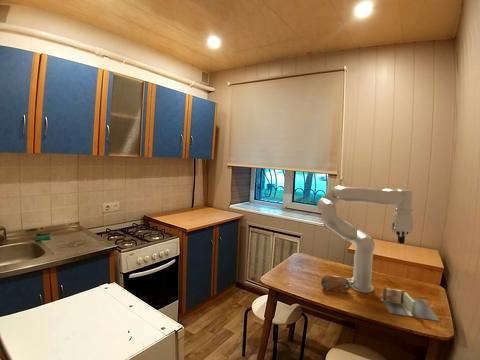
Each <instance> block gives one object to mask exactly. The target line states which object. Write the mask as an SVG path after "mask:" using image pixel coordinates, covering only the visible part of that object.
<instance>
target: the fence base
mask: <svg viewBox="0 0 480 360" xmlns="http://www.w3.org/2000/svg"><path fill="white" fill-rule="evenodd" d="M382 288H383V289H382V291H383V292H382V293H380V296H381V298H380V300H381V302H383V303H384V305H385V307H386V309H387V312H388V314H390V315H395V316H403V317H409V318H416V319H421V320H429V321H435V322H440V319H439V317H438V316H437V314H436V313H435V312H434V311H433V310H432V308H431V306H430V305H429V304H428V303H427V302H426V300H425V299H422V298H414V297H411V298H412V299H413V300H414V301H415V302H416V305H415V315H412V314H411V313H410V311H409V310H408V309H407V308H406V307H405V305H404V304H403V293H404V292H406V293H407V290H405V289H393V288H387V287H382Z"/></svg>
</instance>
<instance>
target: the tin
mask: <svg viewBox="0 0 480 360" xmlns="http://www.w3.org/2000/svg"><path fill="white" fill-rule="evenodd" d="M346 278H347V277H344V276H338V275H333V274H326V275H325V274H324V276H323V277H322V279H321V283H320V284H321V287H322V288H324V289H325V290H326V289H328V290H327V291H329V290H333V291H332V292H335V291H337V292H336V293H343V294H344V293H348V291H349V290H350V288H351V287H350V283H349V281H348V280H347V279H346Z"/></svg>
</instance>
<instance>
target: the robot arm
mask: <svg viewBox="0 0 480 360" xmlns="http://www.w3.org/2000/svg"><path fill="white" fill-rule="evenodd" d="M339 202H341V203H362V204H363V203H365V204H377V205H378V204H380V205H395V212H394V213H393V214H392V218H391V223H390V224H391V225H390V230H391V232H392V233H393V234H396V236H397V243H399V244H400V245H403V244H404V245H405V240H406V239H405V238H406V237H407V235H408V234H412V231H413V227H414V226H413V225H414V219H413V214H412V212H414V209H412V204H413V190H411V189H406V188H405V189H404V188H399V189H397V188H396V189H395V188H390V187H389V188H388V187H387V188H384V189H375V188H371V187H364V186H363V187H361V186H360V187H357V186H356V187H355V186H353V187H352V186H342V185H337V186H334V187H332V188H331V189H330V190H329V191H328V192H327V193H325V194H324V195H323V196H322V197H321V198H319V200H318V201H317V203H316V207H317V210H318V211H320V212H321V219H322V223H323V224H324V225H325V226H326V227H327V228H328V229H330V230H331V231H332V232H334V233H335V234H337V235H338V236H340V237H341V238H342V239H343V240H345V241H348V242H349V243H351V244H353V245H354V246H355V251H354V256H353V272H352V274H353V276H352V277H350V278H347V277H345V278H346V279H347V280H348V281H349V284H350V288H351V289H353V290H354V291H357V292H360V293H364V294H365V293H368V294H369V293H373V291H374V290H375V289H374V286H373V285H372V275H373V273H372V272H373V271H372V270H373V258H374V257H373V256H374V252H375V249H376V248H375V247H376V244H375V240H374V239H373V238H372V236H370V235H369V234H368V233H366V232H364V231H363V230H362V229H360V228H359V227H357V226H355V225H354V224H352V223H350V222H349V221H347V220H345V219H342V218H341V217H340V216H338V213H337V211H338V210H337V206H336V204H337V203H339Z"/></svg>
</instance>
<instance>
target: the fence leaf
mask: <svg viewBox="0 0 480 360" xmlns="http://www.w3.org/2000/svg"><path fill="white" fill-rule="evenodd" d="M412 298H413V297H411V296H410V295H409V294H408V293H407V291H406V292H404V293H403V304H404V305H405V307H406V308H407V309H408V310H409V311H410V313H411V314H412V315H415V305H416V302H415V301H414V300H413V299H412Z"/></svg>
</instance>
